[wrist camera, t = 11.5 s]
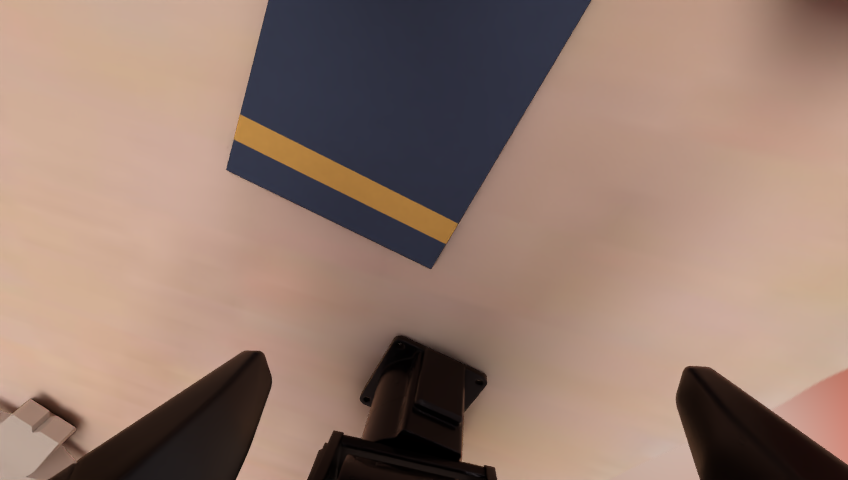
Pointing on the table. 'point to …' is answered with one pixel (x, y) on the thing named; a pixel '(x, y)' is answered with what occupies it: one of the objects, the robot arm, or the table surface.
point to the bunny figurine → (33, 443)
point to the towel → (392, 107)
